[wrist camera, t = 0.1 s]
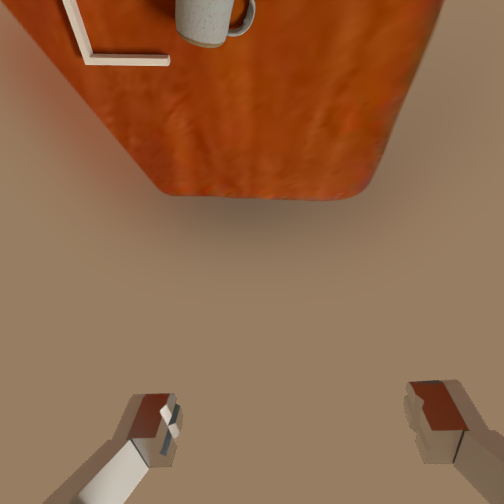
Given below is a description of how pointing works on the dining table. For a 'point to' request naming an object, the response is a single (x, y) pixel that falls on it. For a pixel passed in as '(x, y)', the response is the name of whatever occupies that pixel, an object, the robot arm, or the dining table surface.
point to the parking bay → (106, 59)
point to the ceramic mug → (208, 21)
